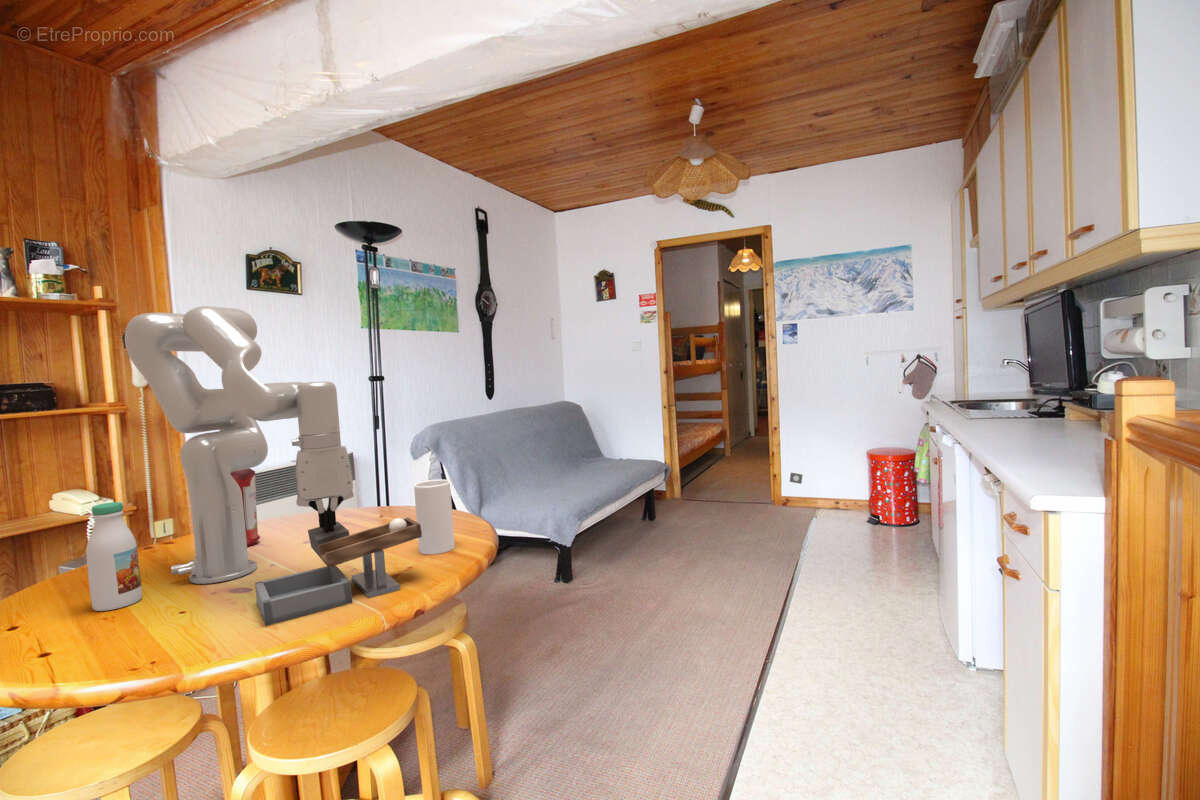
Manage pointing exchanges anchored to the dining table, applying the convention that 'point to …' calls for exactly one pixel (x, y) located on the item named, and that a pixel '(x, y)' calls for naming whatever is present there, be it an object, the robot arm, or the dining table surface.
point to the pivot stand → (375, 576)
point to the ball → (397, 524)
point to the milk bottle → (112, 560)
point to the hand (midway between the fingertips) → (328, 529)
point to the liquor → (248, 502)
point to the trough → (358, 541)
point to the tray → (302, 594)
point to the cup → (434, 516)
